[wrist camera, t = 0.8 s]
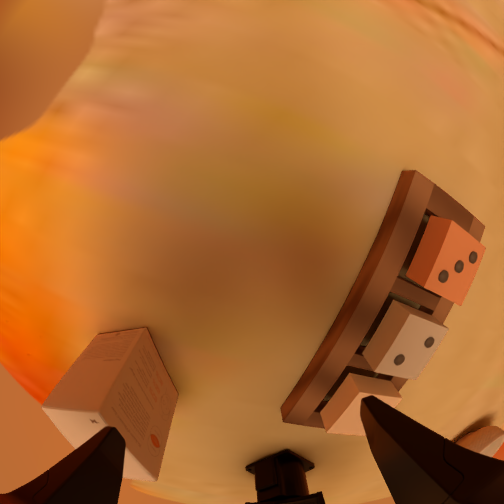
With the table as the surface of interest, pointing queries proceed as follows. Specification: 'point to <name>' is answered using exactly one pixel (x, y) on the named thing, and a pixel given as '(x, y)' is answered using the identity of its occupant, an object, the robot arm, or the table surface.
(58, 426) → the small box
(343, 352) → the tile tray
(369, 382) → the tile one pip
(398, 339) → the tile two pip
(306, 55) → the table surface
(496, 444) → the cereal bowl
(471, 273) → the tile three pip
